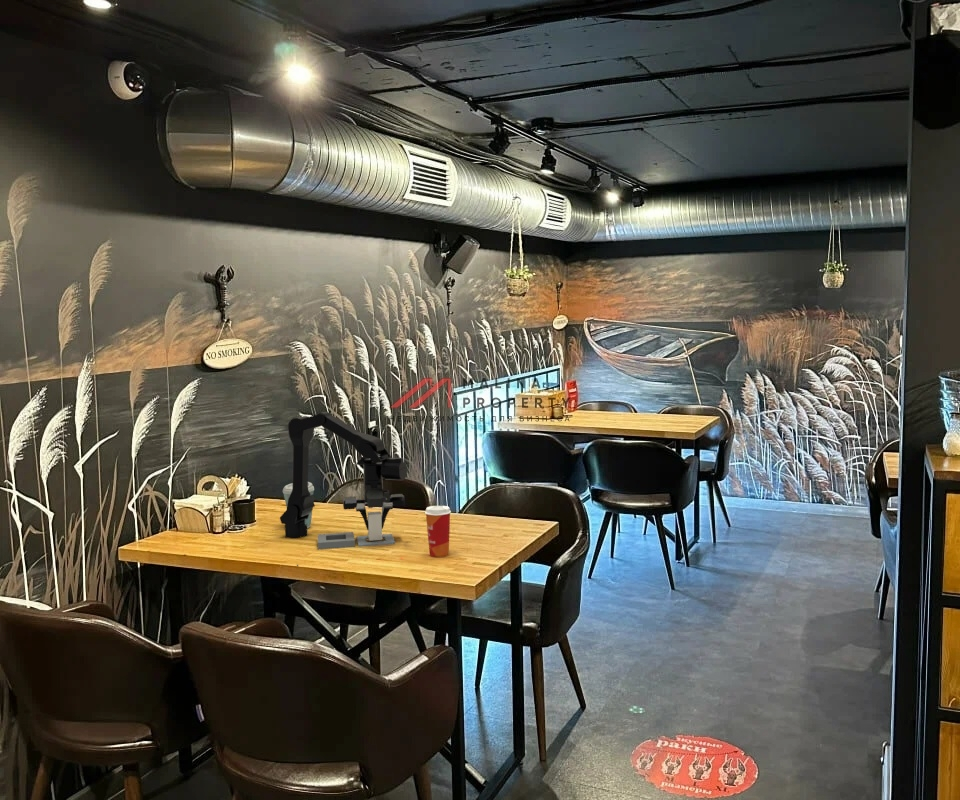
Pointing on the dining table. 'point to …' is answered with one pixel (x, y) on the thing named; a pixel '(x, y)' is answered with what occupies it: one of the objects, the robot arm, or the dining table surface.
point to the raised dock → (336, 540)
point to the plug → (374, 526)
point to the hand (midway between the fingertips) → (374, 529)
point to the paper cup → (438, 530)
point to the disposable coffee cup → (287, 492)
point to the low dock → (362, 542)
